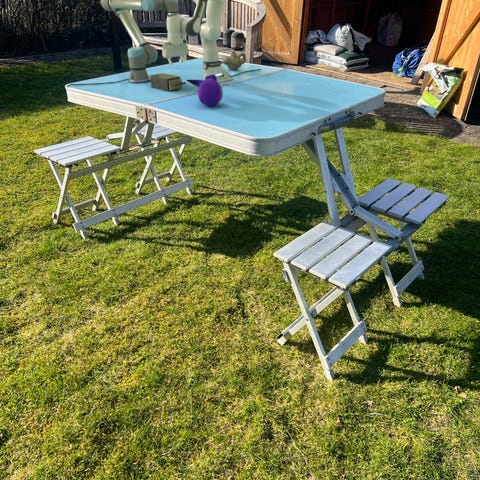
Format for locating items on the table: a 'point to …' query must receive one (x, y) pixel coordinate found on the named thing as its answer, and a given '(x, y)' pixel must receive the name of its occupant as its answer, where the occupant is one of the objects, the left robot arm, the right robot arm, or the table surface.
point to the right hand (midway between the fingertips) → (176, 63)
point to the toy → (208, 90)
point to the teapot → (234, 60)
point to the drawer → (176, 84)
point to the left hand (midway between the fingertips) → (176, 51)
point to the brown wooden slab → (162, 81)
